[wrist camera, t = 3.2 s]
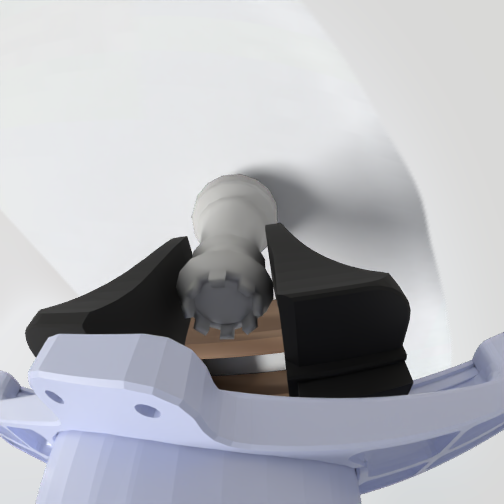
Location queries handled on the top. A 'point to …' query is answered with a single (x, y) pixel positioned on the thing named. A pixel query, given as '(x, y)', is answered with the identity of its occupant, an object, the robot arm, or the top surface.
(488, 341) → the robot arm
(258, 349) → the brown wooden hollow block
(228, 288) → the rook chess piece
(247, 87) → the top surface
